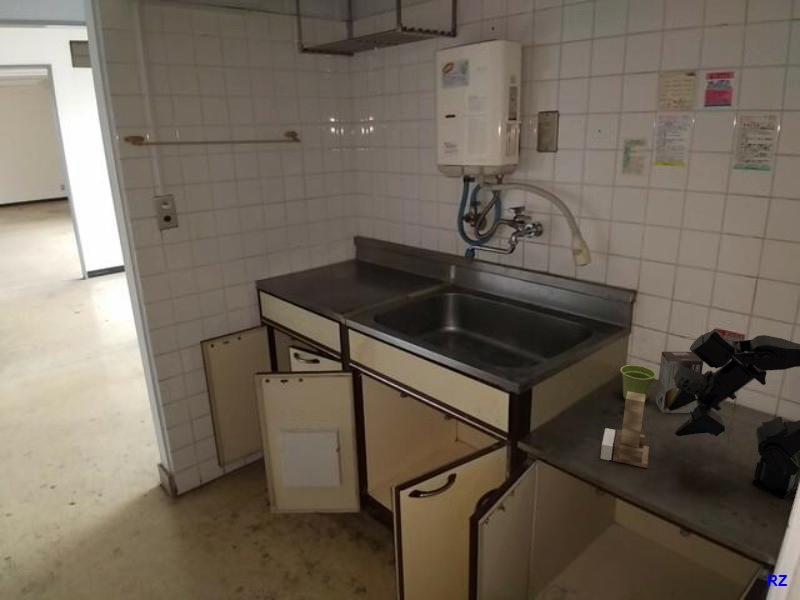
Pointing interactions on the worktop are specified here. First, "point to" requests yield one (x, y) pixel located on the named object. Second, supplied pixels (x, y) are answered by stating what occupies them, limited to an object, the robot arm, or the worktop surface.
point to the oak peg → (632, 419)
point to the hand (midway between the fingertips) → (672, 421)
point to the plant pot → (637, 379)
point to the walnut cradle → (630, 452)
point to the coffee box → (667, 382)
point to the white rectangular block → (607, 444)
